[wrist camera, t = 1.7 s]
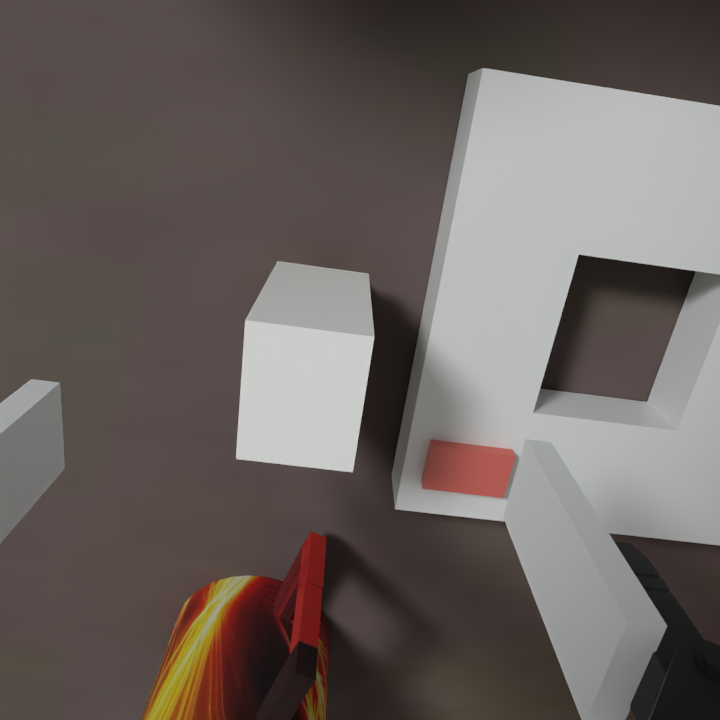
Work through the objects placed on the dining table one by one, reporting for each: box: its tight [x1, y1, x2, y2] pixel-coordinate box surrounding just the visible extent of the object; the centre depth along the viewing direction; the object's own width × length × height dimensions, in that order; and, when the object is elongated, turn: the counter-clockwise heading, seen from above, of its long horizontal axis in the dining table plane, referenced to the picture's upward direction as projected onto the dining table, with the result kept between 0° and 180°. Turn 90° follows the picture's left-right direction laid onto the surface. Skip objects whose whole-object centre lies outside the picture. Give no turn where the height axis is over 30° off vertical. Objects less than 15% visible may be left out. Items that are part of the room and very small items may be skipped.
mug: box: [141, 531, 330, 720], centre depth 30 cm, size 10×14×12 cm
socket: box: [392, 68, 720, 545], centre depth 27 cm, size 20×18×4 cm
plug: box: [236, 261, 375, 472], centre depth 23 cm, size 5×4×10 cm
